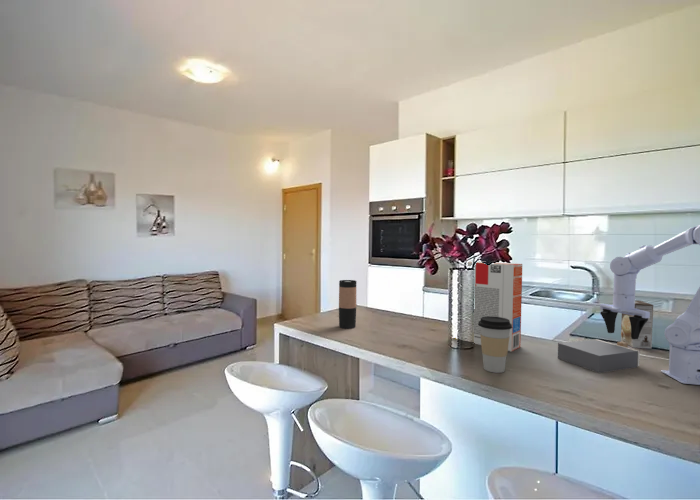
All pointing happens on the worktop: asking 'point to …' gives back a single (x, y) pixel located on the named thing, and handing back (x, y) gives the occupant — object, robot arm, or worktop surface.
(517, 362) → the worktop surface
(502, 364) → the coffee cup
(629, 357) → the sleeve
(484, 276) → the pasta box
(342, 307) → the travel mug
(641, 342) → the coffee box
